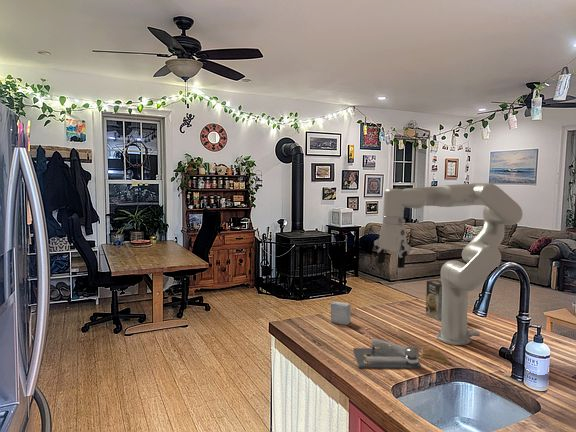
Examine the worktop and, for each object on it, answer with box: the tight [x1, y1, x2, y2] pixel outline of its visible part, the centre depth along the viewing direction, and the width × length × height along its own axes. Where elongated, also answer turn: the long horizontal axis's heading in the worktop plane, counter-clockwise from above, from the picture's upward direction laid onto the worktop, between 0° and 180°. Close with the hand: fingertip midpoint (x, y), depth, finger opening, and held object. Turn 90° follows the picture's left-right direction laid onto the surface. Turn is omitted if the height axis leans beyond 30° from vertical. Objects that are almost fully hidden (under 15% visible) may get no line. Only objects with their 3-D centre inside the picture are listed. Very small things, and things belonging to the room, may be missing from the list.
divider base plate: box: [352, 347, 422, 369], centre depth 144 cm, size 21×14×3 cm, turn 89°
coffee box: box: [425, 279, 442, 321], centre depth 189 cm, size 9×6×16 cm
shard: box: [419, 348, 451, 365], centre depth 145 cm, size 11×8×2 cm
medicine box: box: [330, 301, 352, 326], centre depth 181 cm, size 8×4×9 cm, turn 58°
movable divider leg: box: [370, 337, 420, 359], centre depth 144 cm, size 18×4×4 cm, turn 49°
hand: (390, 265), depth 156 cm, fingers open, 9 cm apart
